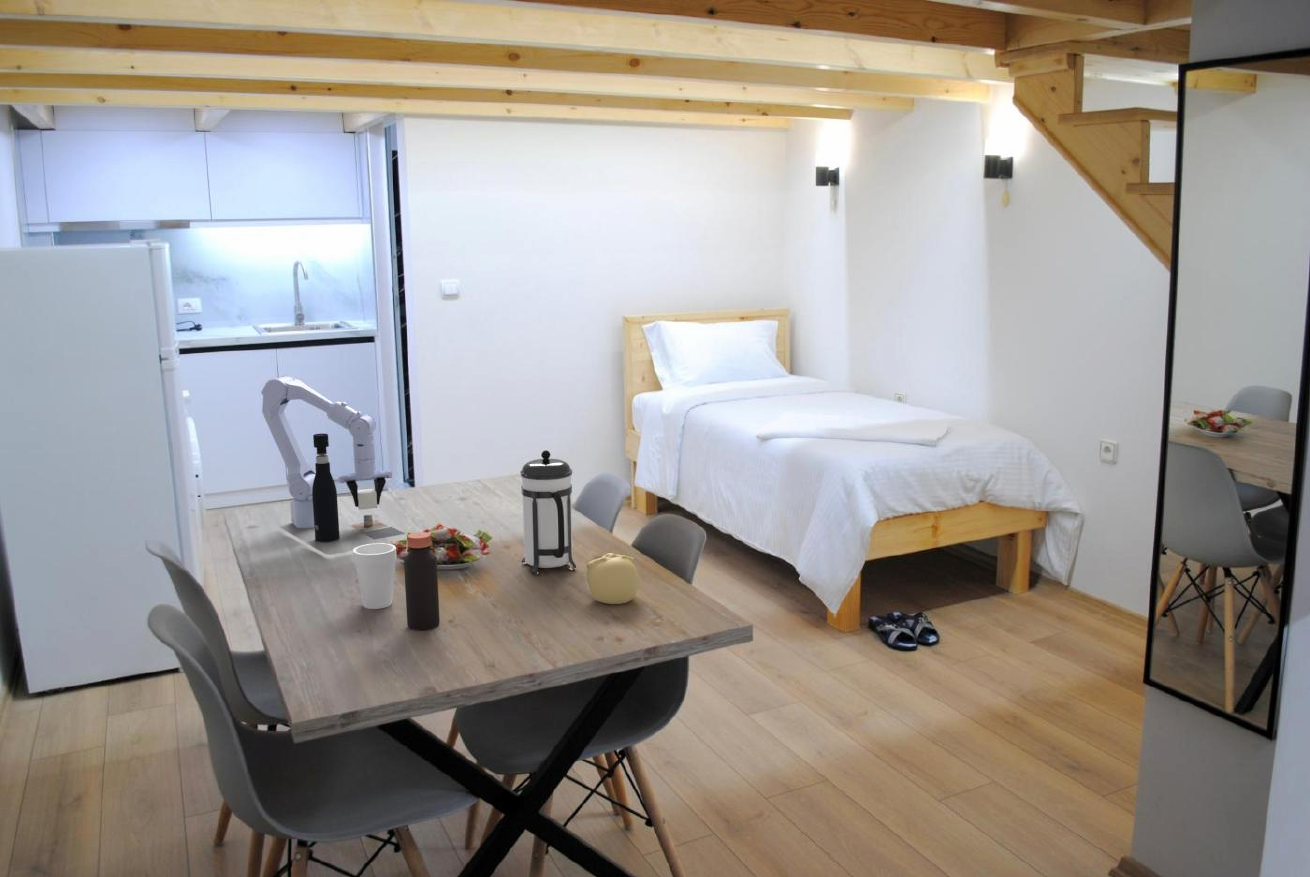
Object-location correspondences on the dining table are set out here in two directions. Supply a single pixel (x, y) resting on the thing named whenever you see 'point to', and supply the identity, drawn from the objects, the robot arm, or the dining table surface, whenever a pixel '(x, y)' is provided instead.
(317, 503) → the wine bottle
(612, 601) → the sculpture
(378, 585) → the foam cup
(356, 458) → the robot arm
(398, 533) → the mat
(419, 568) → the dark brown water bottle
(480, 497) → the dining table surface
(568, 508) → the coffee press
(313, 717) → the dining table surface
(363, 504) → the white block
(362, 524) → the pin stand
